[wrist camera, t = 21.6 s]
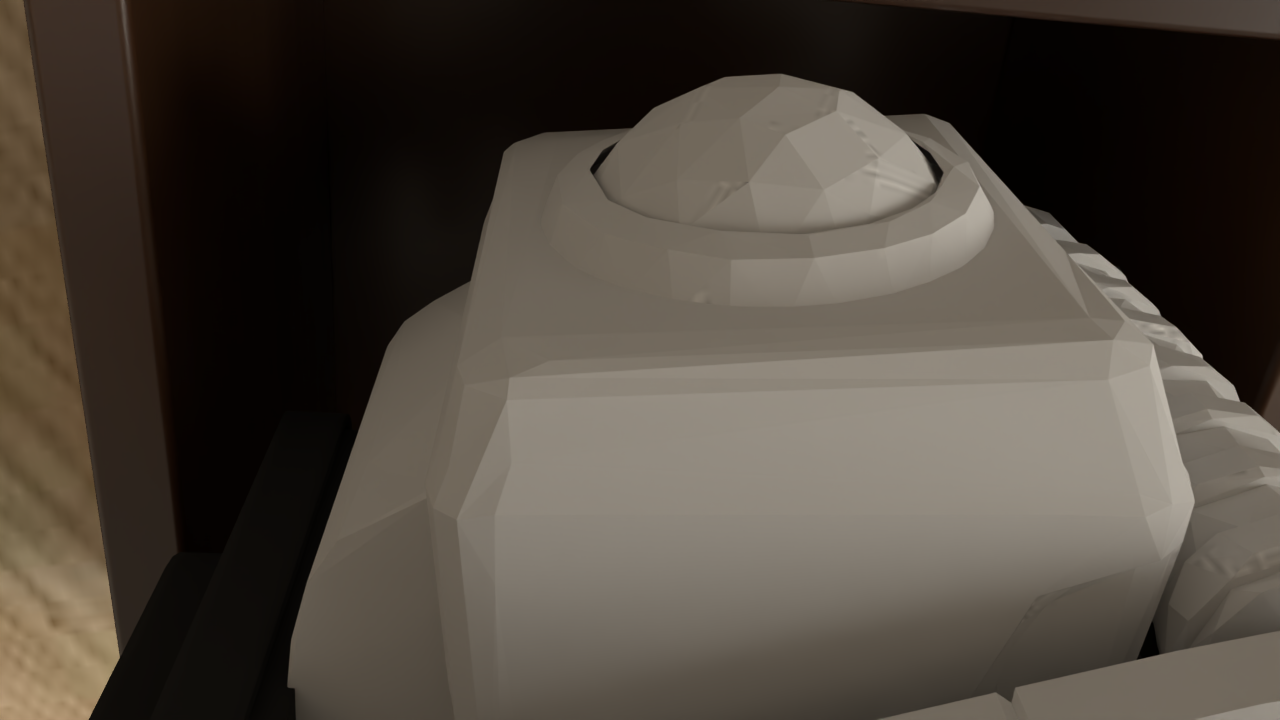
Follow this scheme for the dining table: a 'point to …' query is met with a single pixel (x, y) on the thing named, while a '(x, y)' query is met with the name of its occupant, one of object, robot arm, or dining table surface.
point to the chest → (559, 102)
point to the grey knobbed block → (791, 452)
